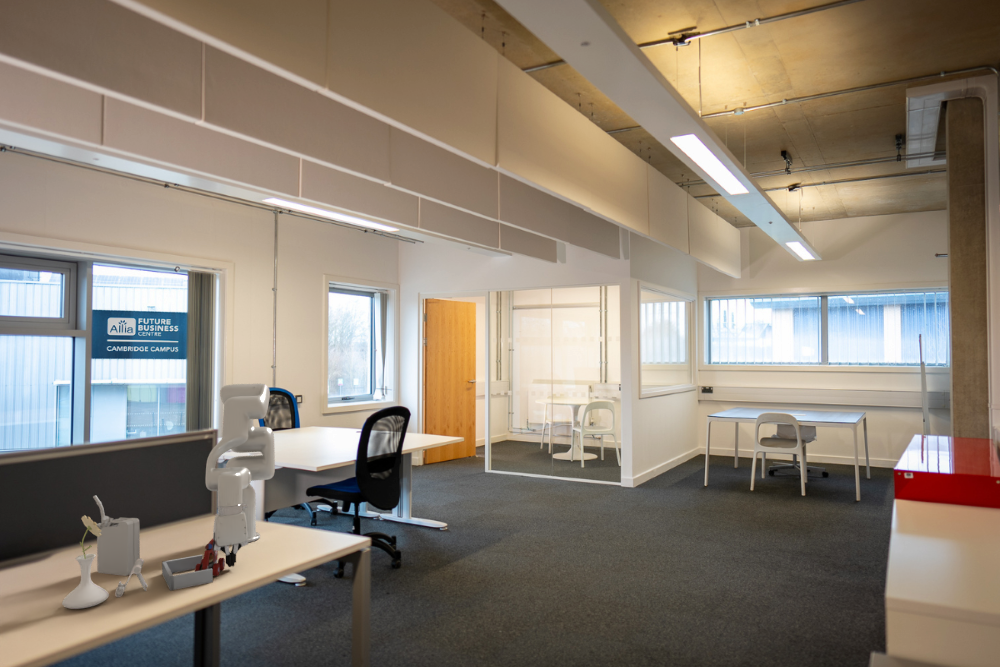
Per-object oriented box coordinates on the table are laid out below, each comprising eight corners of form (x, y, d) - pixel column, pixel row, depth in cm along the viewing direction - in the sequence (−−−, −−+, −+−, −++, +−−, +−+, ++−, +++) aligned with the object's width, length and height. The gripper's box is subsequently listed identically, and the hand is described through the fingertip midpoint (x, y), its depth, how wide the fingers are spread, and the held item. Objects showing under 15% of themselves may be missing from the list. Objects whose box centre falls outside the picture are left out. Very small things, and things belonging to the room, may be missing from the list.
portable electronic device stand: (119, 588, 203) (118, 560, 203) (148, 584, 206) (147, 557, 206) (115, 598, 195) (115, 569, 195) (145, 593, 198) (145, 565, 198)
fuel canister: (90, 572, 218) (90, 496, 218) (103, 567, 222) (103, 492, 223) (127, 576, 213) (126, 498, 214) (139, 571, 218) (139, 495, 218)
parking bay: (162, 573, 215) (162, 561, 215) (202, 566, 221) (202, 554, 221) (170, 590, 200) (170, 577, 200) (212, 582, 206) (212, 569, 207)
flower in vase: (109, 606, 188) (109, 518, 188) (61, 616, 182) (61, 524, 182) (107, 592, 199) (107, 509, 199) (62, 601, 193) (62, 515, 193)
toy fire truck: (192, 581, 208) (192, 547, 208) (204, 568, 220) (204, 536, 220) (215, 579, 209) (215, 546, 209) (226, 566, 221) (226, 535, 221)
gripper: (251, 504, 226) (251, 558, 225) (203, 511, 217) (204, 567, 217) (256, 508, 219) (257, 564, 219) (208, 515, 211) (208, 573, 211)
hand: (230, 565), depth 218 cm, fingers closed
